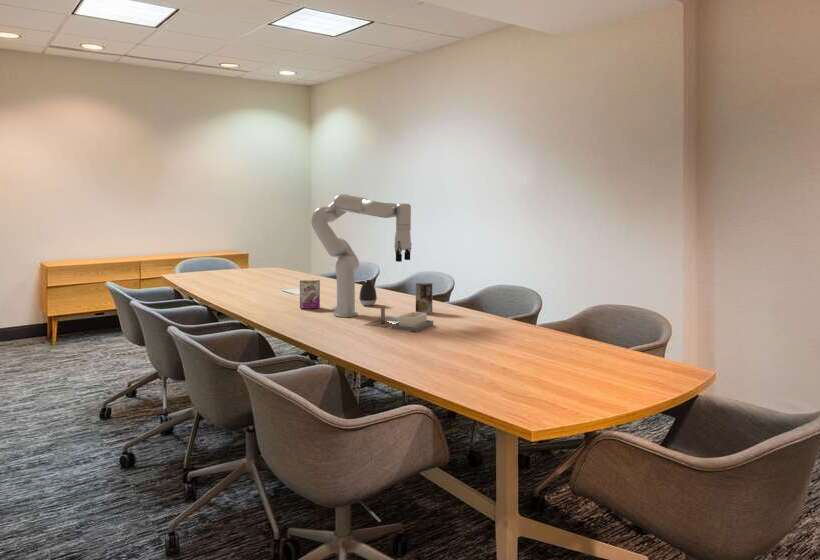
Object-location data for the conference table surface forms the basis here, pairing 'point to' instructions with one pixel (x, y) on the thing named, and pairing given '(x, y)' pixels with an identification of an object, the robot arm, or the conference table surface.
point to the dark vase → (367, 293)
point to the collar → (413, 319)
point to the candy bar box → (309, 293)
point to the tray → (412, 329)
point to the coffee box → (424, 298)
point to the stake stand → (380, 321)
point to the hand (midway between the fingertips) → (403, 260)
